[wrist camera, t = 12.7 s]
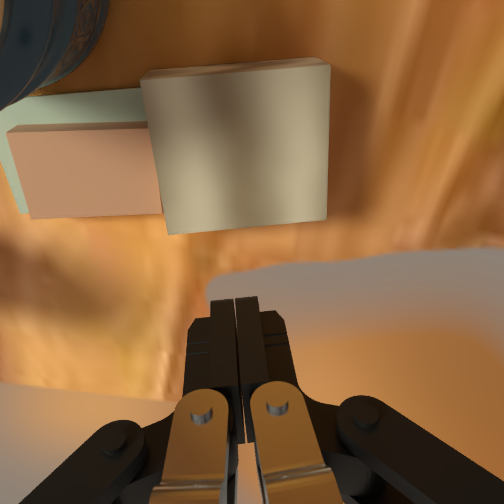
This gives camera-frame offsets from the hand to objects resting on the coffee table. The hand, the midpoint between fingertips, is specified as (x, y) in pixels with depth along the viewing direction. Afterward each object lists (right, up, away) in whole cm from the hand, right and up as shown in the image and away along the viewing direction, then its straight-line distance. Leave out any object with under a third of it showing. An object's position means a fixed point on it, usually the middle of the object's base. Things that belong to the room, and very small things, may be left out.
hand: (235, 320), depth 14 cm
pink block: (-10, +8, +17) cm, 21 cm away
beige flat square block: (0, +10, +17) cm, 20 cm away
